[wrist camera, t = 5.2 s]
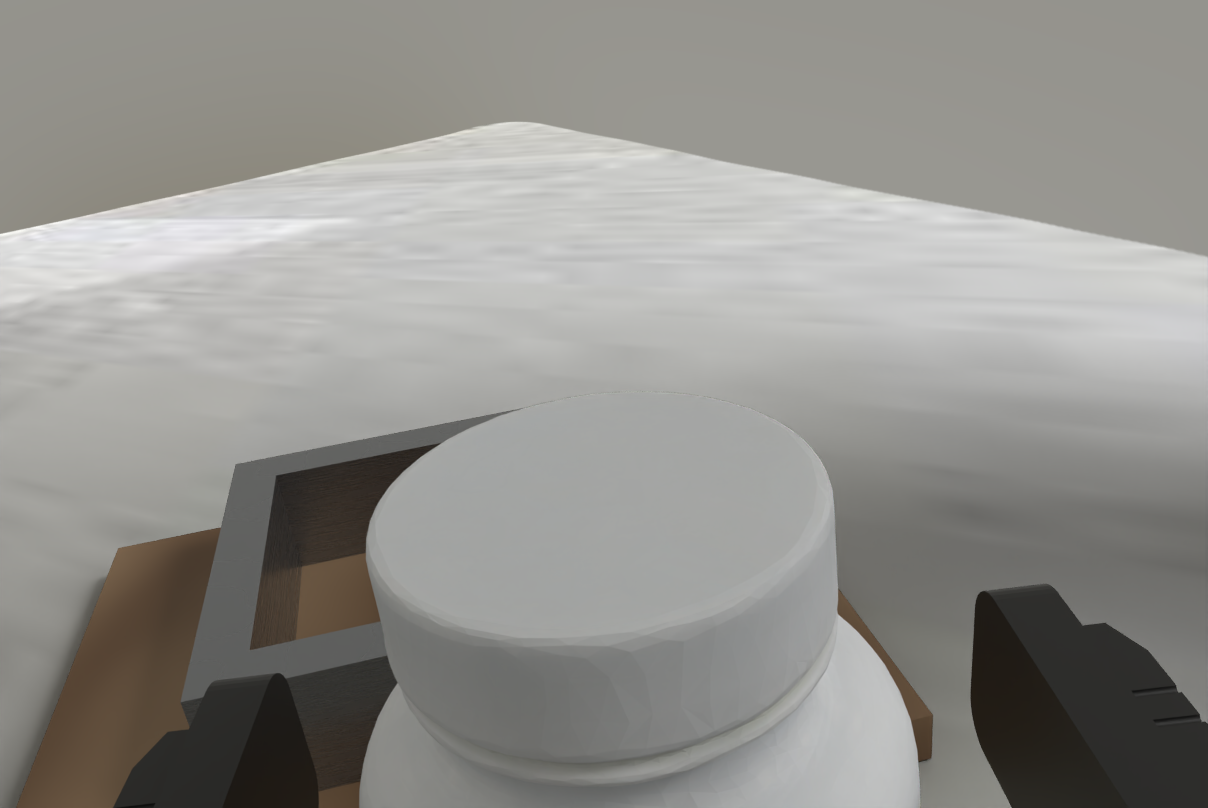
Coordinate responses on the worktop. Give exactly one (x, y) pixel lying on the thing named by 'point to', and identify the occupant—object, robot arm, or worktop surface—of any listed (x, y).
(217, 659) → the collar
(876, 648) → the holder plate
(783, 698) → the supplement bottle
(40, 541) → the worktop surface
